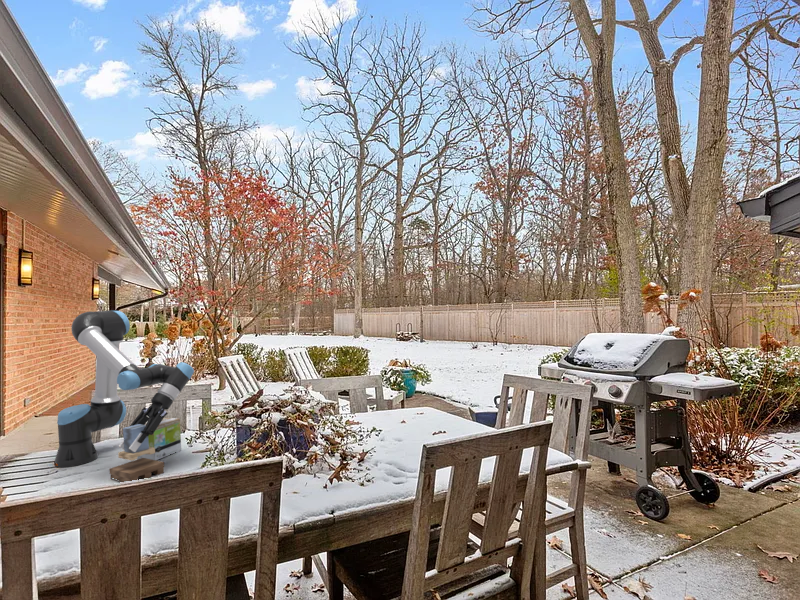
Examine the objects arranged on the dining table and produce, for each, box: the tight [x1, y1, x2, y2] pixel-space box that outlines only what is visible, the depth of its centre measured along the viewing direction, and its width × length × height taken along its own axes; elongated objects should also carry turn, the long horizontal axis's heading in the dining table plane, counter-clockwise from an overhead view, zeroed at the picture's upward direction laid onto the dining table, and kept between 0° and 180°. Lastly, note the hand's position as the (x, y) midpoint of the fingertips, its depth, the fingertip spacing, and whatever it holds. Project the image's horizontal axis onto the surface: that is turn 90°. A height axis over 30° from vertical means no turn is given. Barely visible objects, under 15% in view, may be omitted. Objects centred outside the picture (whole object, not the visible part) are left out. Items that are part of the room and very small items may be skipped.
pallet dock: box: [109, 458, 165, 483], centre depth 178 cm, size 14×13×4 cm
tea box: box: [136, 417, 182, 461], centre depth 202 cm, size 15×10×15 cm
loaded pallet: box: [117, 424, 155, 461], centre depth 178 cm, size 9×9×11 cm
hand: (126, 449), depth 175 cm, fingers closed on loaded pallet, 6 cm apart
